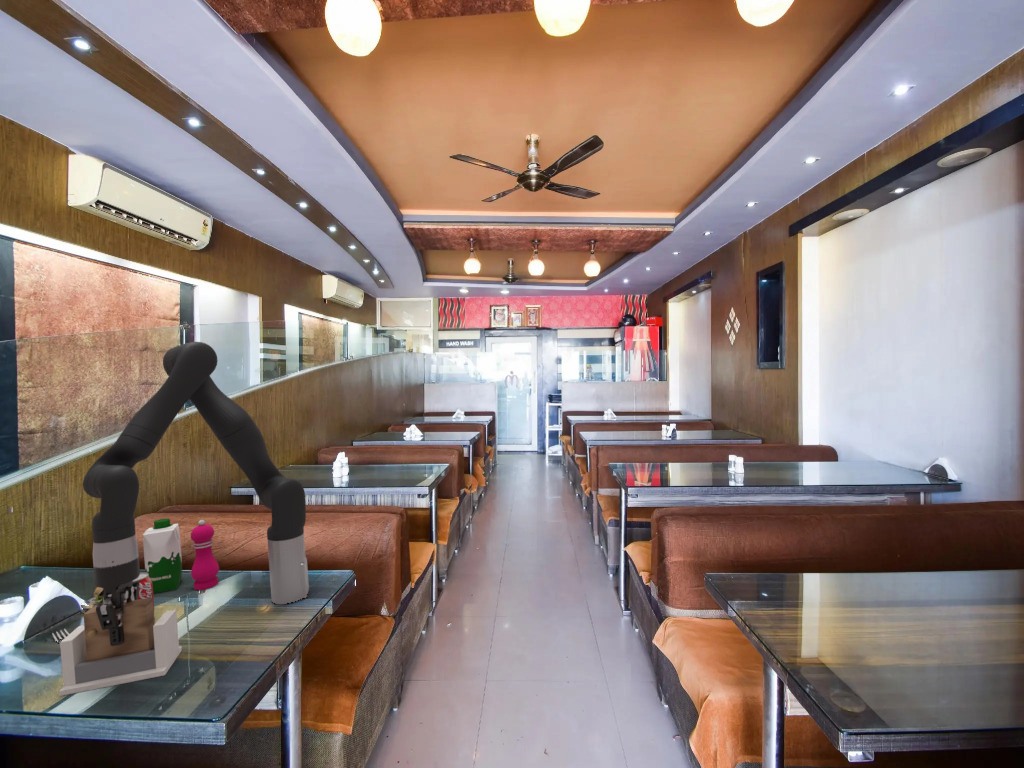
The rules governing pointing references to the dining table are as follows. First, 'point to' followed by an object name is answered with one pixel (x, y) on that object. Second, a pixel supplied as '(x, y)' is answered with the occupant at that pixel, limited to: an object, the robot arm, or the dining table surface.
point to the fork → (59, 635)
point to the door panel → (135, 631)
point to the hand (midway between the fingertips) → (122, 639)
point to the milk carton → (163, 555)
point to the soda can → (145, 586)
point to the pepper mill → (204, 557)
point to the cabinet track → (118, 659)
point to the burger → (94, 599)
